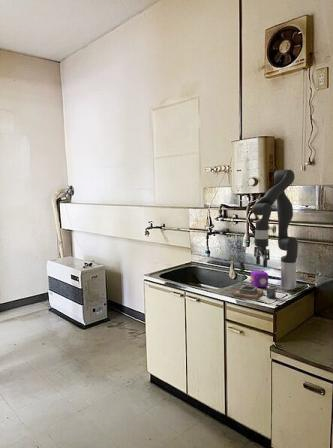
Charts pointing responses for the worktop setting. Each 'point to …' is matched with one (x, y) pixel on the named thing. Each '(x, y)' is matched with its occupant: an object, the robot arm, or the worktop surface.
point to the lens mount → (248, 292)
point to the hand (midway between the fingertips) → (261, 265)
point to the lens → (271, 291)
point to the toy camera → (259, 278)
